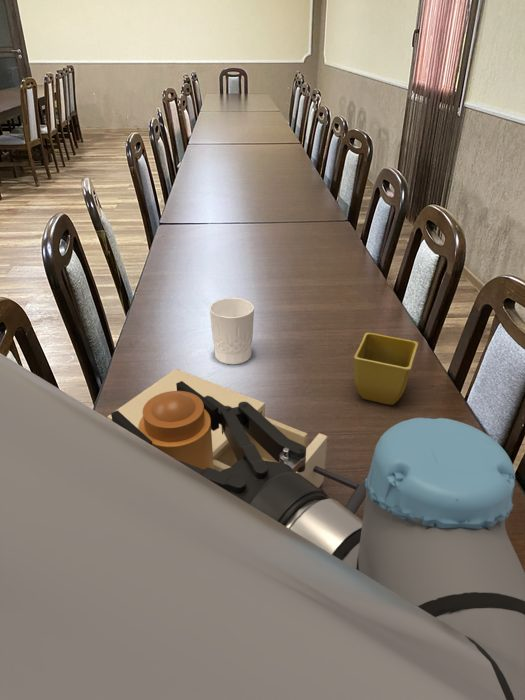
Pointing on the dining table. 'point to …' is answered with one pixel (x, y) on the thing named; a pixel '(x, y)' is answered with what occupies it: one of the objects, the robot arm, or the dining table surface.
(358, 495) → the drawer
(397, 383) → the flower pot
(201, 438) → the orange dome-capped jar
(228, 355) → the white cup
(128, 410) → the cabinet
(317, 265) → the dining table surface
